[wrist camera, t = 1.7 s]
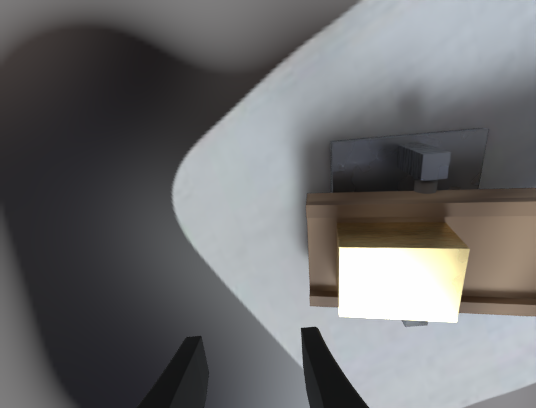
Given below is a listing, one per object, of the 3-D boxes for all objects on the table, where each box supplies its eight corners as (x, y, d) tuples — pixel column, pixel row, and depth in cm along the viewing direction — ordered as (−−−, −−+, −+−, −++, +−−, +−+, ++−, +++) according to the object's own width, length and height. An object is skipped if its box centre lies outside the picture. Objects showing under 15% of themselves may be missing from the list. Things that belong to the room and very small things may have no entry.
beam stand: (482, 128, 19) (531, 136, 16) (454, 291, 24) (487, 325, 21) (330, 141, 20) (345, 152, 16) (331, 301, 24) (343, 337, 21)
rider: (445, 222, 17) (469, 248, 14) (436, 286, 18) (456, 322, 16) (336, 222, 18) (339, 247, 15) (336, 283, 19) (339, 316, 17)
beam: (641, 171, 16) (699, 186, 14) (593, 298, 19) (634, 329, 17) (307, 181, 19) (305, 195, 17) (311, 288, 22) (310, 313, 20)
